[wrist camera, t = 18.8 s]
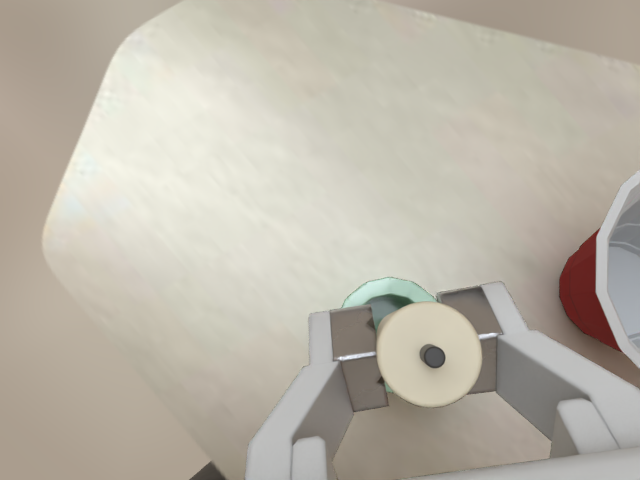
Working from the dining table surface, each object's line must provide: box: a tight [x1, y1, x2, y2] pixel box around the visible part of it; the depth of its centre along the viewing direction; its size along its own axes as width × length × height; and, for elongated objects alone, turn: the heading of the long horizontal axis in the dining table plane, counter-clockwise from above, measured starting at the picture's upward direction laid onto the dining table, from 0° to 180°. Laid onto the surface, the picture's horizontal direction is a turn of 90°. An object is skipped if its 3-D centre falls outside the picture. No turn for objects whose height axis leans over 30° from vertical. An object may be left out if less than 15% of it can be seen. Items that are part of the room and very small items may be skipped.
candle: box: [376, 301, 482, 408], centre depth 11 cm, size 2×2×9 cm
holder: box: [341, 277, 437, 393], centre depth 26 cm, size 5×5×7 cm
